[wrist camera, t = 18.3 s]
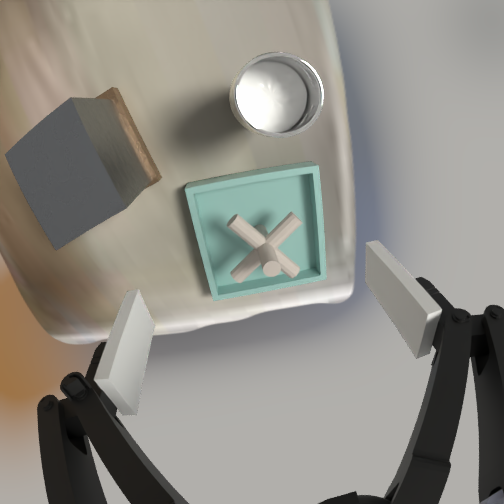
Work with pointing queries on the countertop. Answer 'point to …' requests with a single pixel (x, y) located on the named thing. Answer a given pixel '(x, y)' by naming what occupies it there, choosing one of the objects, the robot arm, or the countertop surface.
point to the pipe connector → (264, 247)
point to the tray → (258, 212)
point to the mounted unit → (82, 165)
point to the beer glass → (276, 95)
